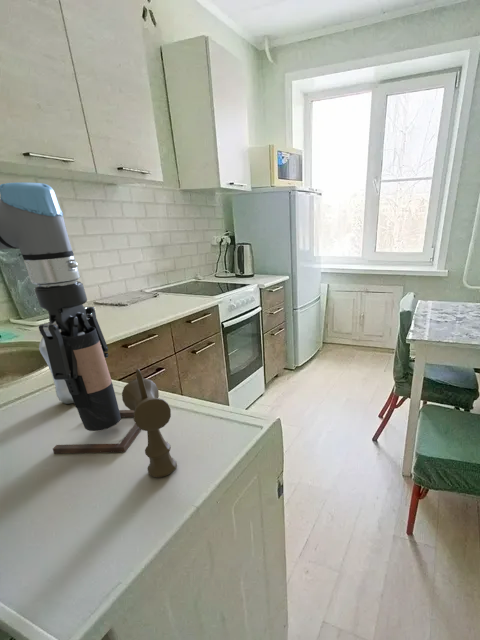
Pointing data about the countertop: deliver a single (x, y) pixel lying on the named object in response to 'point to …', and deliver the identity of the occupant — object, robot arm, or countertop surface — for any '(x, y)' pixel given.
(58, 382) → the plastic bottle
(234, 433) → the countertop surface
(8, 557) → the countertop surface
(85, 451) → the frame
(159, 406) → the kendama
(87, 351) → the travel mug
